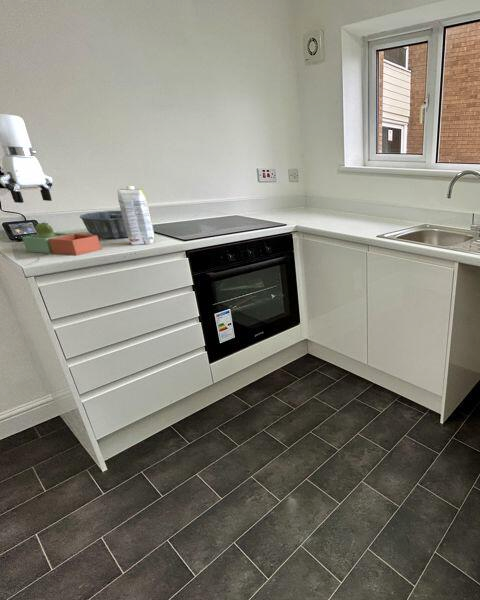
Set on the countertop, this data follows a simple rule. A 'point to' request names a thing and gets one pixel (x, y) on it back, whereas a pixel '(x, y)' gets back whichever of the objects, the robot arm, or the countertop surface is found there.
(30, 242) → the green bin
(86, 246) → the terracotta bin
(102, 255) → the countertop surface
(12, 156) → the robot arm
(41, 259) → the countertop surface
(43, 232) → the pear
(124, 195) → the juice carton
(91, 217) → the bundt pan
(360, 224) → the countertop surface
